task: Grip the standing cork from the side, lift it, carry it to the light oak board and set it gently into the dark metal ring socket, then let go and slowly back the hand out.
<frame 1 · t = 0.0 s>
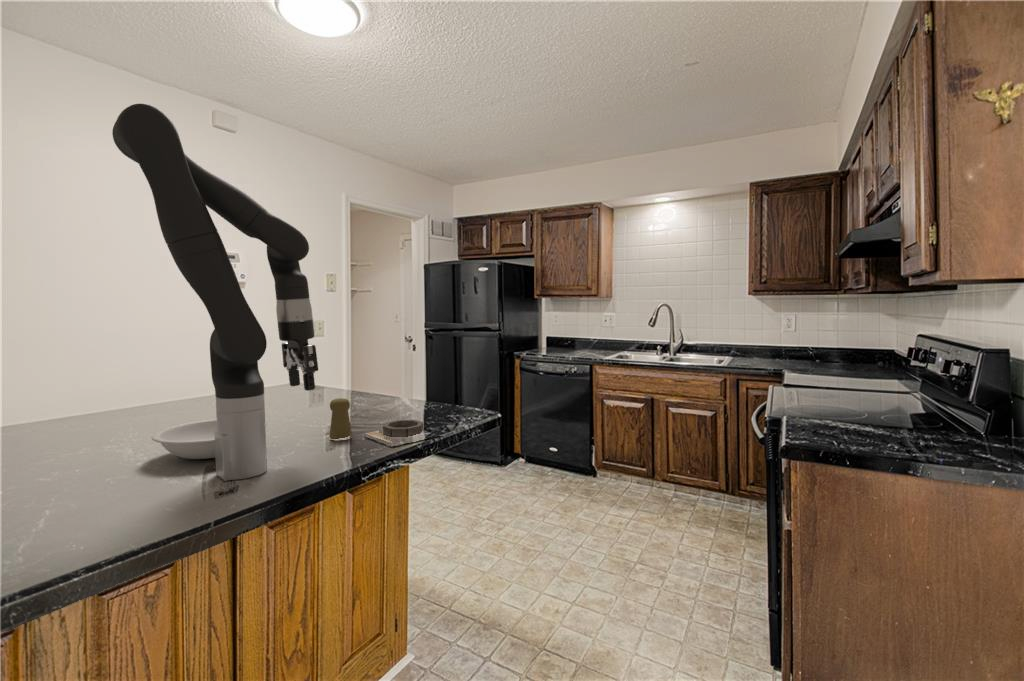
hand: (302, 387, 116), 17 cm above the countertop, tool pointing down, fingers open, 8 cm apart
cork: (340, 439, 136), on the countertop
socket board: (403, 436, 137), on the countertop
soup bowl: (213, 455, 121), on the countertop
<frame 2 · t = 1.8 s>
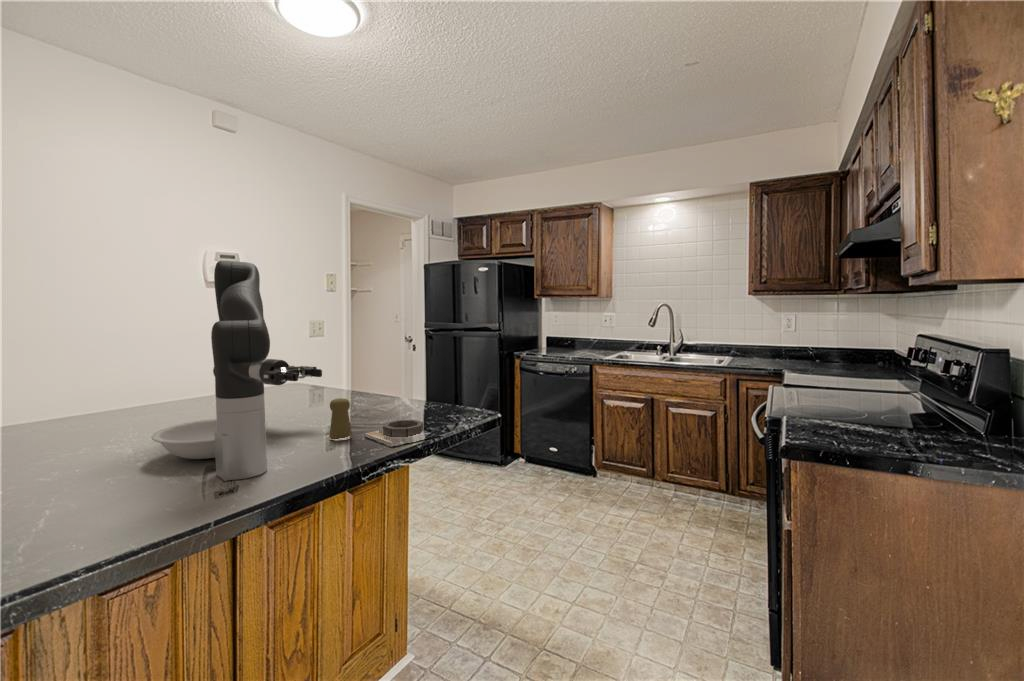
hand: (309, 375, 139), 17 cm above the countertop, tool horizontal, fingers open, 8 cm apart
nothing on the countertop moved.
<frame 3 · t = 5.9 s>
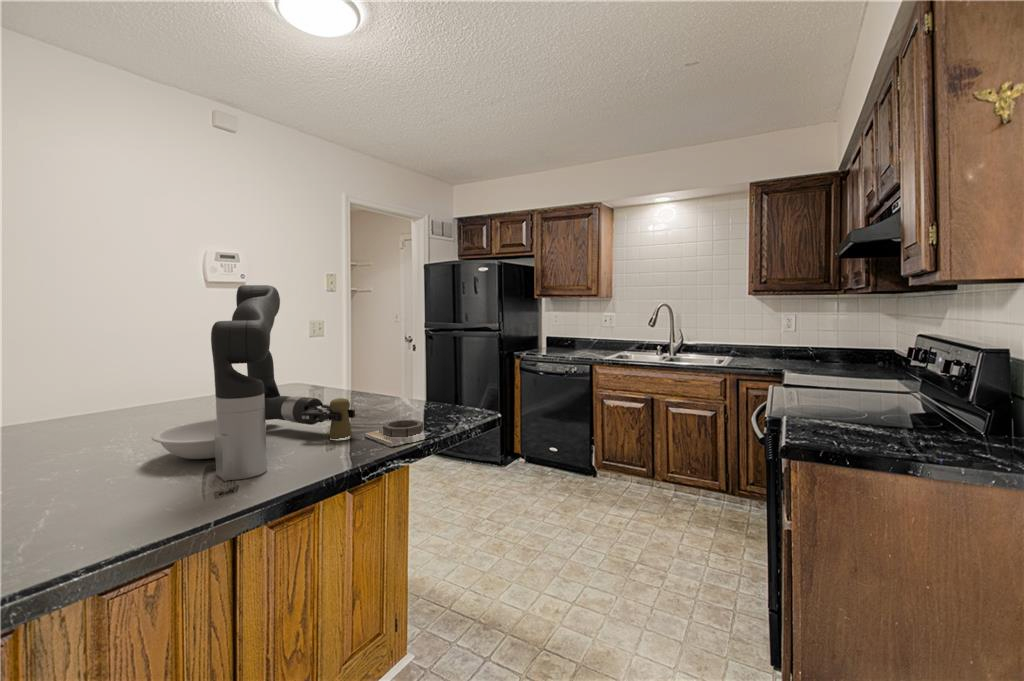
hand: (347, 415, 134), 7 cm above the countertop, tool horizontal, fingers closed on cork, 4 cm apart
cork: (340, 439, 136), on the countertop, touching gripper
everything else where it was.
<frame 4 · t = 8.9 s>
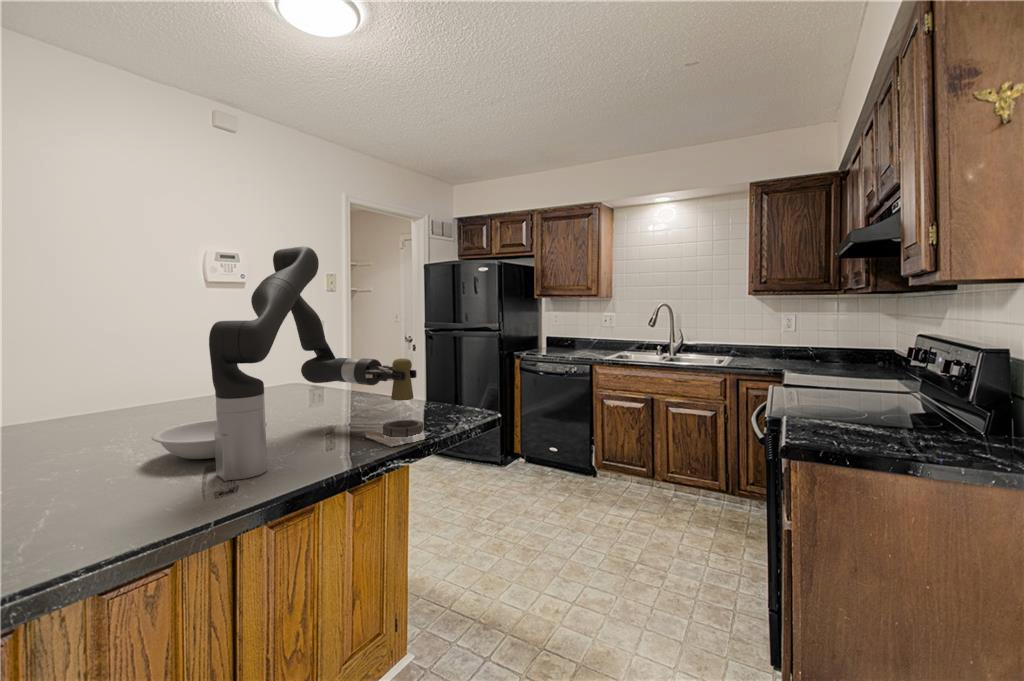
hand: (410, 375, 135), 17 cm above the countertop, tool horizontal, fingers closed on cork, 4 cm apart
cork: (402, 399, 136), point 11 cm above the countertop, touching gripper
everything else where it was.
when the fingers open (8 cm above the countertop, at t = 12.1 s): cork stays where it is, resting on socket board.
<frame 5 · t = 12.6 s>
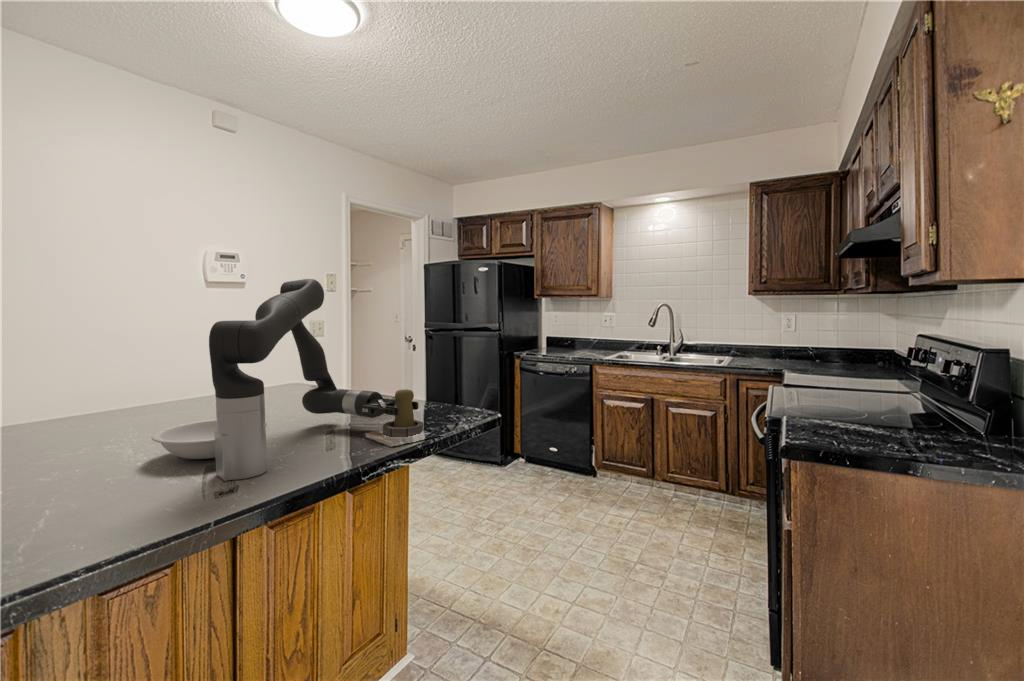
hand: (408, 408, 136), 8 cm above the countertop, tool horizontal, fingers open, 8 cm apart
cork: (404, 429, 138), point 2 cm above the countertop, touching gripper, socket board
everything else where it was.
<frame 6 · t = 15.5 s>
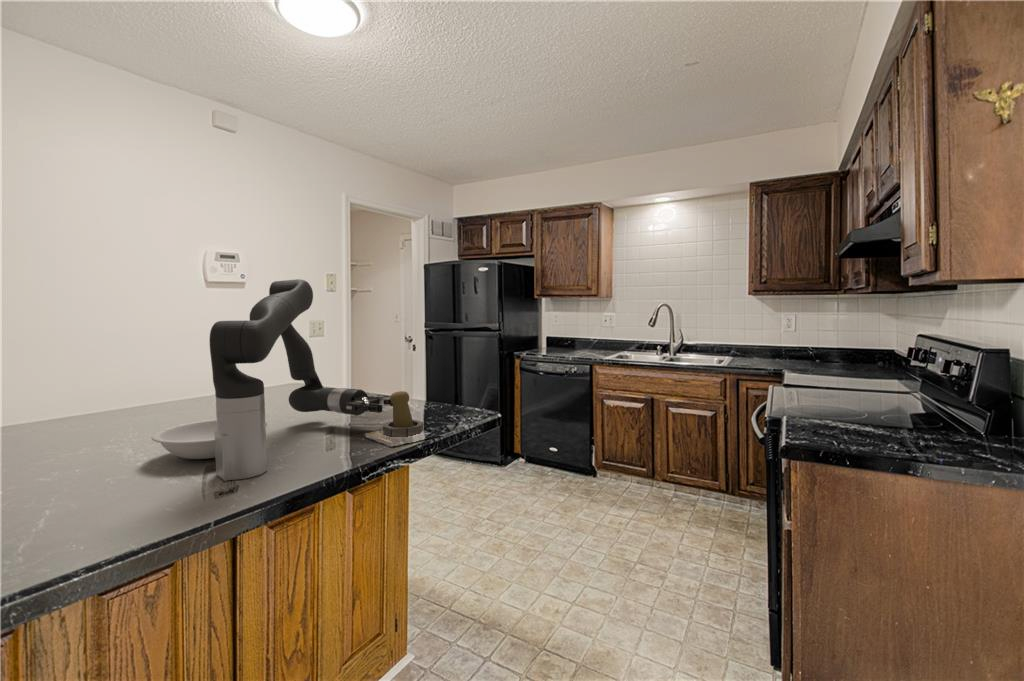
hand: (391, 405, 138), 8 cm above the countertop, tool horizontal, fingers open, 8 cm apart
cork: (403, 431, 138), point 1 cm above the countertop, touching socket board
everything else where it was.
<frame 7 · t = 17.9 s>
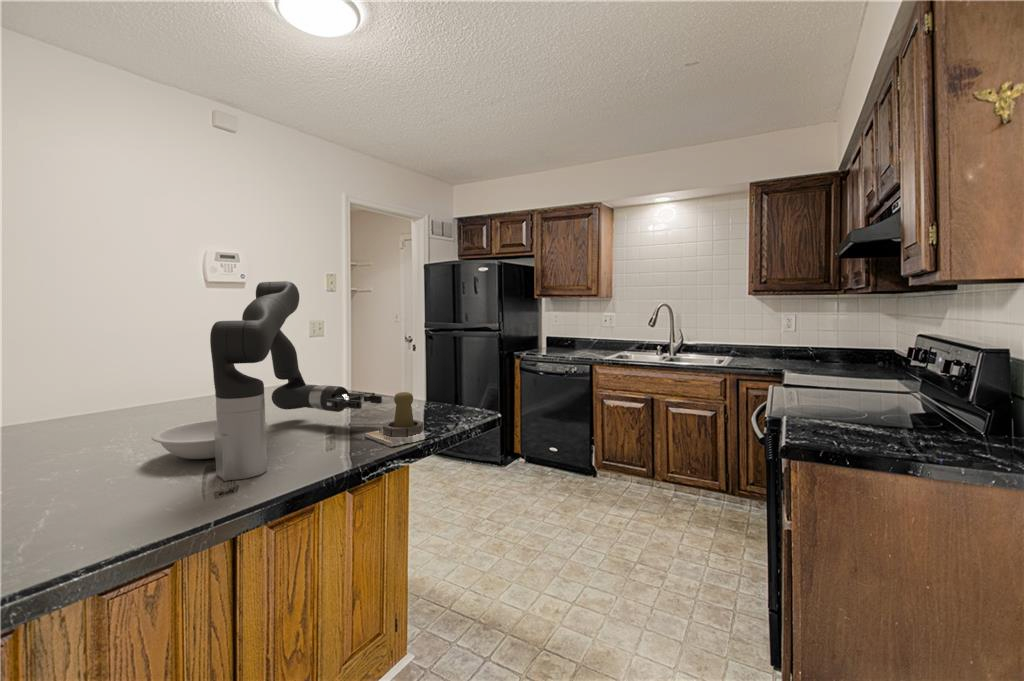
hand: (371, 402, 141), 9 cm above the countertop, tool horizontal, fingers open, 8 cm apart
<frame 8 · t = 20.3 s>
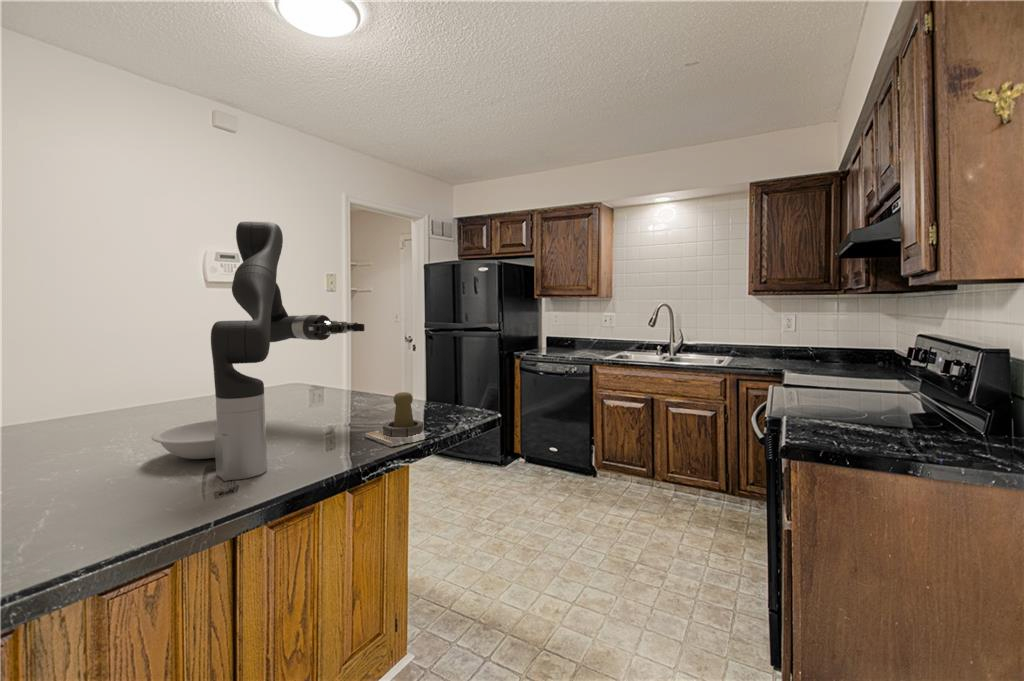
hand: (353, 328, 141), 30 cm above the countertop, tool horizontal, fingers open, 8 cm apart
nothing on the countertop moved.
at the end: cork 0.9 cm off-centre on the socket board, point 1.0 cm above the socket board's base; cork tilted 0°; the gripper is holding nothing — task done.
